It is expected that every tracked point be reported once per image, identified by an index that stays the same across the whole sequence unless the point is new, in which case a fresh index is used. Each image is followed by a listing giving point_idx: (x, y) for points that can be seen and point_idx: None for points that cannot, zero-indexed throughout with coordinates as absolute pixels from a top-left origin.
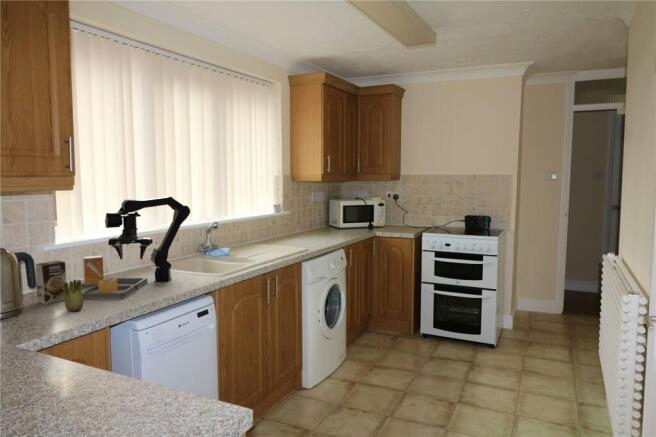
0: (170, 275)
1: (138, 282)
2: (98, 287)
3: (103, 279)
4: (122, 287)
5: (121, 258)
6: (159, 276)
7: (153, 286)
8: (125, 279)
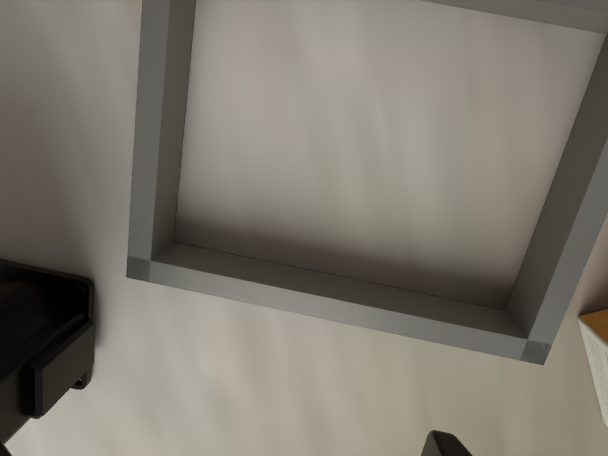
0: None
1: (157, 39)
2: None
3: (604, 338)
4: None
5: (436, 450)
6: (16, 301)
7: (49, 84)
8: (359, 297)
